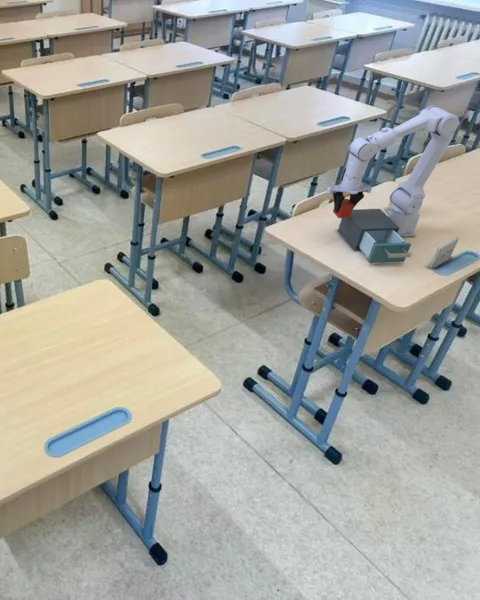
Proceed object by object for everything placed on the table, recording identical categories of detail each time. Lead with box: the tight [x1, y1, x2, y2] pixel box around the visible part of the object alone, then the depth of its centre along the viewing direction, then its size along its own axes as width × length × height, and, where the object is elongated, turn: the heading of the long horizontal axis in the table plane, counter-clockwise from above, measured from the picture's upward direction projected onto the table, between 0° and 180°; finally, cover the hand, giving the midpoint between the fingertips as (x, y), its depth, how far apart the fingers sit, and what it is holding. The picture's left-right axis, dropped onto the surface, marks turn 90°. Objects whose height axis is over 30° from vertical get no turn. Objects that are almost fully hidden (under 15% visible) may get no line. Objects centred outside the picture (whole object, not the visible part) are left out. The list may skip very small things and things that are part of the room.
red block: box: [332, 198, 354, 219], centre depth 191 cm, size 4×5×5 cm
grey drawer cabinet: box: [337, 208, 399, 252], centre depth 193 cm, size 14×13×9 cm
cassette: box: [428, 236, 460, 269], centre depth 182 cm, size 12×2×8 cm, turn 124°
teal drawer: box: [358, 230, 412, 264], centre depth 184 cm, size 17×12×7 cm
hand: (342, 211), depth 191 cm, fingers closed on red block, 4 cm apart
